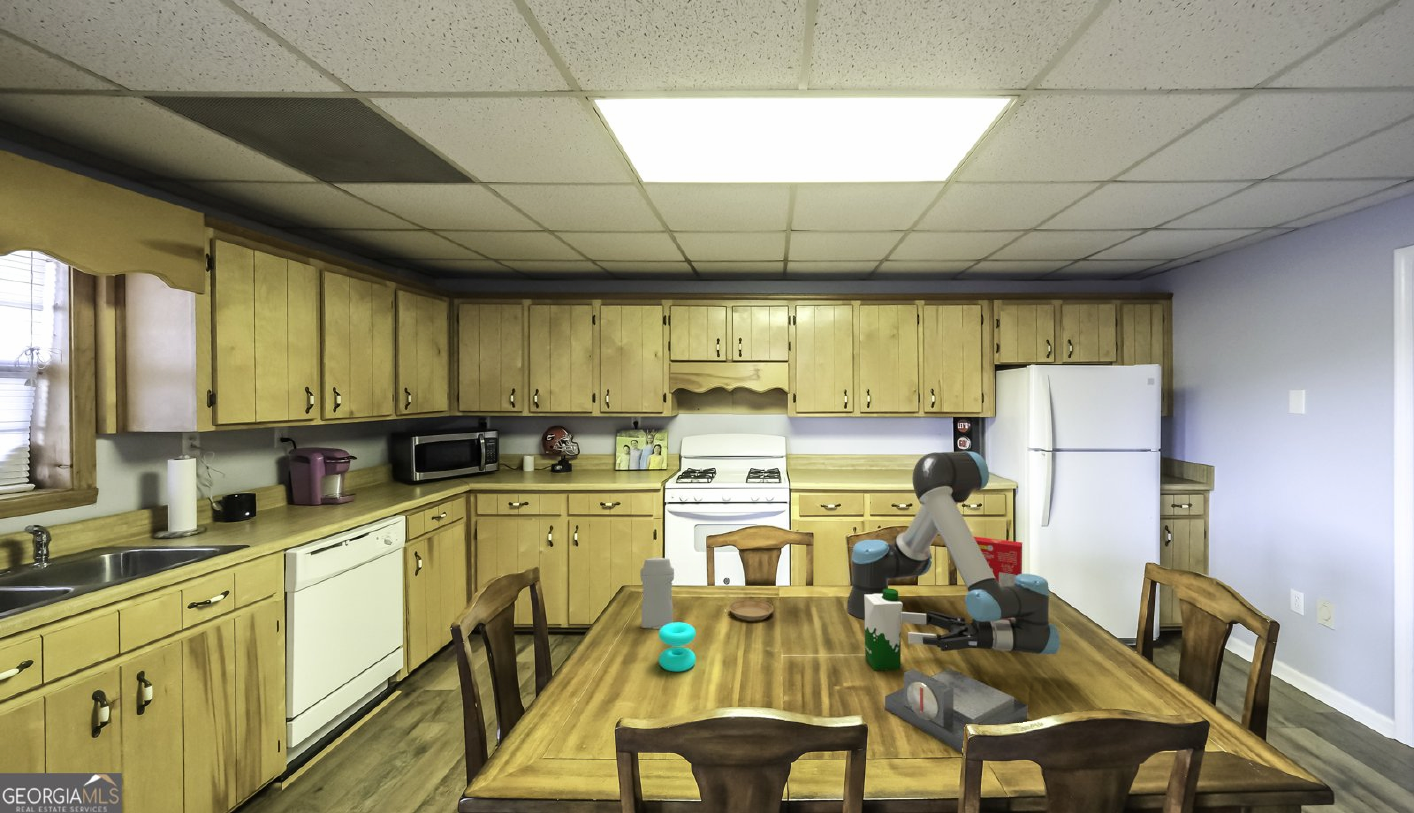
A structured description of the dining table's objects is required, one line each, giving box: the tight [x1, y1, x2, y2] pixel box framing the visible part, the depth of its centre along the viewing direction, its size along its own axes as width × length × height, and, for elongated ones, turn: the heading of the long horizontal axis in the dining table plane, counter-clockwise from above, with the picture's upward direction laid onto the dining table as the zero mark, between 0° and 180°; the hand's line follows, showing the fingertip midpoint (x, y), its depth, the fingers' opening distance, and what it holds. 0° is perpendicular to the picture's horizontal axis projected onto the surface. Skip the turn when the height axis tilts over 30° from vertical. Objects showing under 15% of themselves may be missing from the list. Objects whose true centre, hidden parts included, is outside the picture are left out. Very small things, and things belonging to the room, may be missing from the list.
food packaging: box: [973, 535, 1023, 620], centre depth 186 cm, size 15×5×25 cm, turn 58°
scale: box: [884, 668, 1028, 754], centre depth 129 cm, size 20×24×10 cm
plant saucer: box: [728, 599, 774, 622], centre depth 187 cm, size 15×15×3 cm
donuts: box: [658, 621, 697, 673], centre depth 152 cm, size 10×10×10 cm
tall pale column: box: [639, 557, 675, 630], centre depth 177 cm, size 11×4×22 cm, turn 95°
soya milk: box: [864, 587, 903, 671], centre depth 153 cm, size 9×9×20 cm
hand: (904, 627), depth 151 cm, fingers open, 13 cm apart
